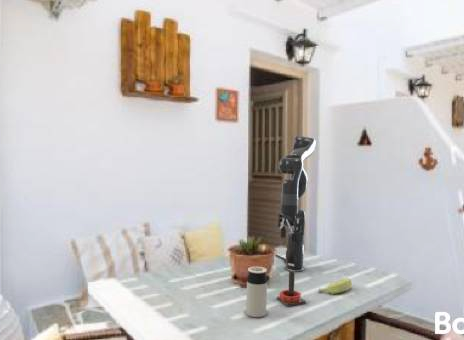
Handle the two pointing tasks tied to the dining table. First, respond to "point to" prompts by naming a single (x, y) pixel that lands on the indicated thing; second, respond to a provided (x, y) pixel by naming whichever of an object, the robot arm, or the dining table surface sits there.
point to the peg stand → (291, 292)
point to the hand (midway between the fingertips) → (288, 239)
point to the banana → (338, 286)
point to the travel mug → (256, 292)
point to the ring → (289, 298)
